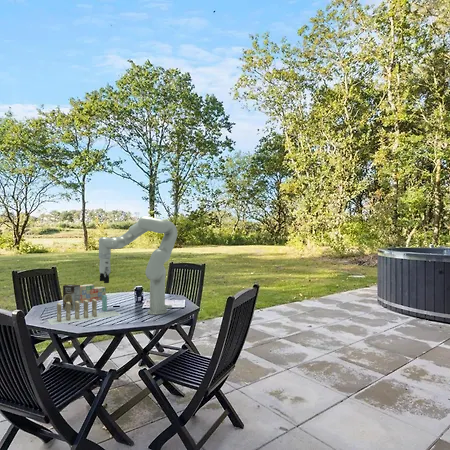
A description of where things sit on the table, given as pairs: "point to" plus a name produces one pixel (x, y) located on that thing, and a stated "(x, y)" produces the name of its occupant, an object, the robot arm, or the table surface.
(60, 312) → the tile
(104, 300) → the tile
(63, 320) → the mat
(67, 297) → the coffee box
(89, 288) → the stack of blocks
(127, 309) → the table surface
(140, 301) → the table surface
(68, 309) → the tile
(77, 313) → the tile
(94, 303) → the tile
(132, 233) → the robot arm
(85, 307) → the tile
